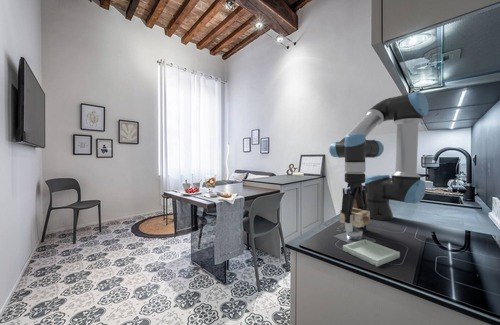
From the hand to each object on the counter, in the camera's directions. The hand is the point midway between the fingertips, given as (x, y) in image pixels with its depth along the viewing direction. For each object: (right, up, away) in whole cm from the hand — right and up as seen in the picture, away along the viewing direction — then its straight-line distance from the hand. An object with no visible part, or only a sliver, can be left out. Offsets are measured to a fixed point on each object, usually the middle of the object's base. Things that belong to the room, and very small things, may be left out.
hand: (354, 228), depth 85 cm
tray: (-1, -5, -13) cm, 14 cm away
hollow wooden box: (0, +2, 0) cm, 2 cm away
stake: (0, -4, 0) cm, 4 cm away
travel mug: (+7, -4, +11) cm, 13 cm away
